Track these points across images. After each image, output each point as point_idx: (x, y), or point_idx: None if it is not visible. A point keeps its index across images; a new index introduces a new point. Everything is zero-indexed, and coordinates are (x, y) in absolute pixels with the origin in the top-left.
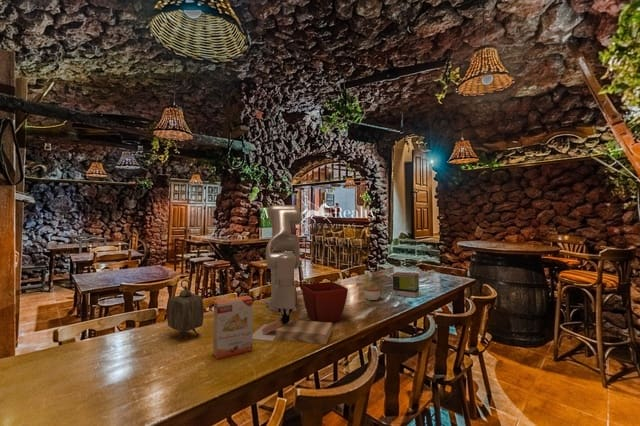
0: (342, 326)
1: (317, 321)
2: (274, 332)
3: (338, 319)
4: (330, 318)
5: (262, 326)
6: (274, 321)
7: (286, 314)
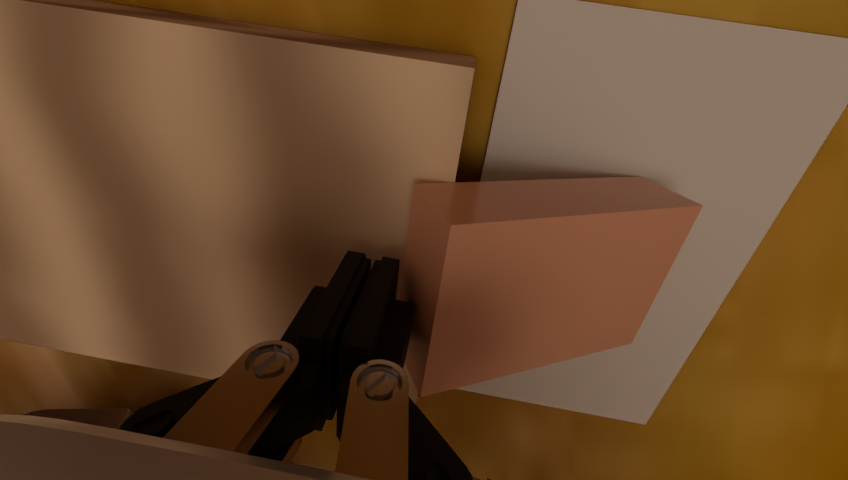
0: (12, 360)
1: None
2: None
3: None
4: None
5: (666, 376)
6: (541, 343)
7: (293, 353)
